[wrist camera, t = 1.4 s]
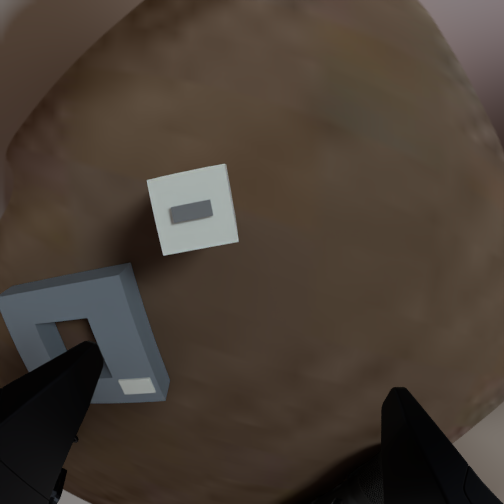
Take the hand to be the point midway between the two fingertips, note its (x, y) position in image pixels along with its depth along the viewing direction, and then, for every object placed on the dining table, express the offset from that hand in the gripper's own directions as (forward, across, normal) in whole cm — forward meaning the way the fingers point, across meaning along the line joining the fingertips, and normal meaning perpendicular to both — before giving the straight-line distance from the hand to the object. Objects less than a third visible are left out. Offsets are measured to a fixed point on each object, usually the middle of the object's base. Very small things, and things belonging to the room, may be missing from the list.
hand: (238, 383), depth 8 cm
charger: (+16, +5, 0) cm, 17 cm away
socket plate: (+12, +16, +12) cm, 23 cm away
